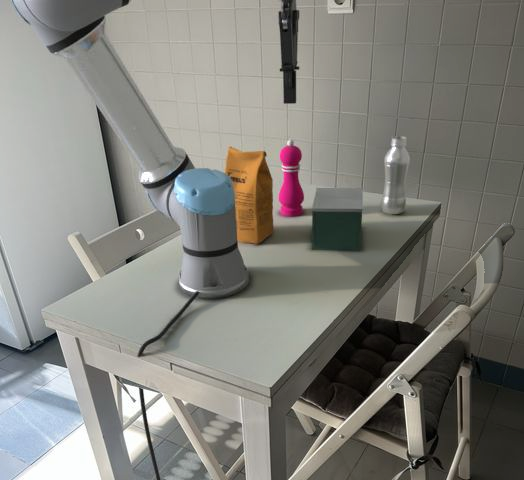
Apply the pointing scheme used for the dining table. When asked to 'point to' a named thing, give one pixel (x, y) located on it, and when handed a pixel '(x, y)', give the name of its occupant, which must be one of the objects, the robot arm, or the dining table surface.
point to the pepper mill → (291, 181)
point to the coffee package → (251, 194)
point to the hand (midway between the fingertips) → (289, 102)
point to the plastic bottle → (395, 176)
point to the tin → (336, 230)
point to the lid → (338, 200)
